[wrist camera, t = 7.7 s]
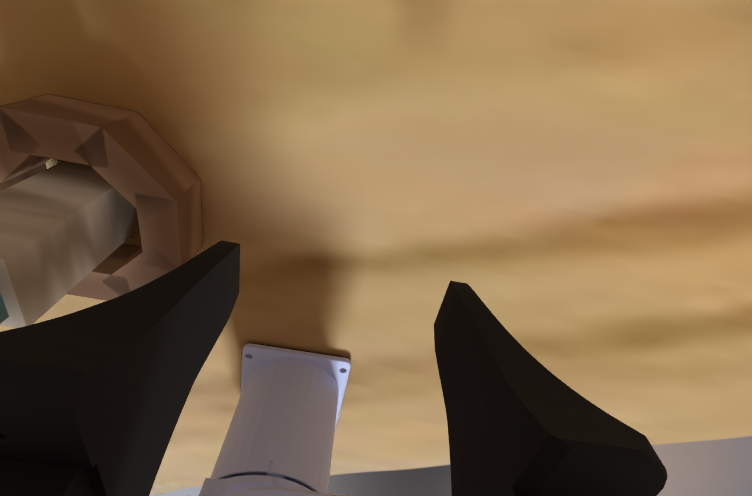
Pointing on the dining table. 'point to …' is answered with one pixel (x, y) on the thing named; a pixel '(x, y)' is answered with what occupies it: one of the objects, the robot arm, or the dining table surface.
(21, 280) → the brown and teal block
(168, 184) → the brown faceted ring
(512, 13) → the dining table surface
